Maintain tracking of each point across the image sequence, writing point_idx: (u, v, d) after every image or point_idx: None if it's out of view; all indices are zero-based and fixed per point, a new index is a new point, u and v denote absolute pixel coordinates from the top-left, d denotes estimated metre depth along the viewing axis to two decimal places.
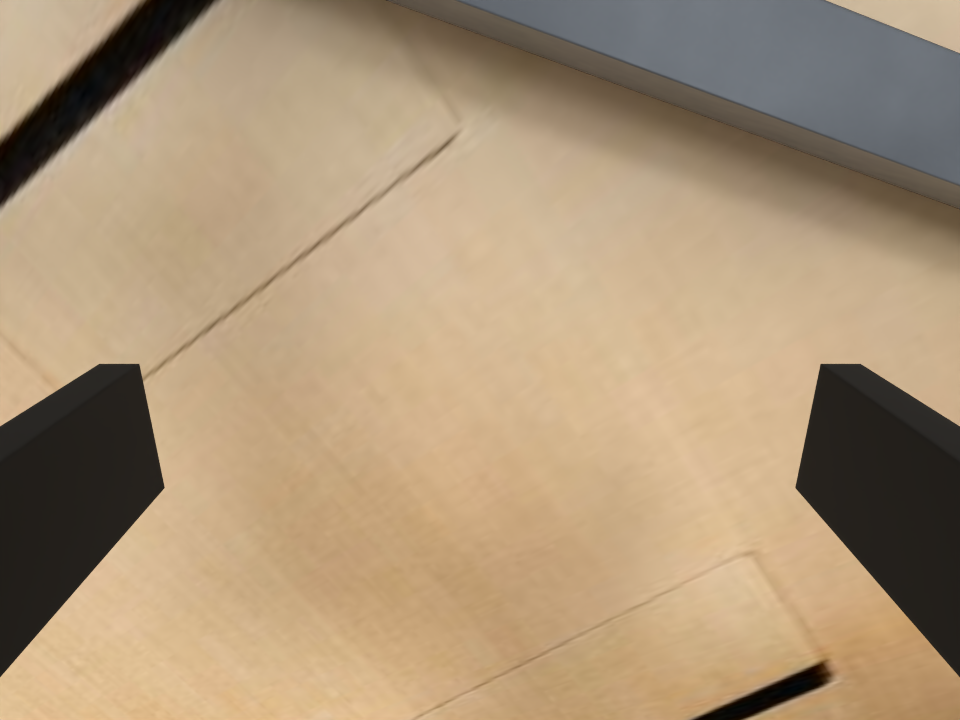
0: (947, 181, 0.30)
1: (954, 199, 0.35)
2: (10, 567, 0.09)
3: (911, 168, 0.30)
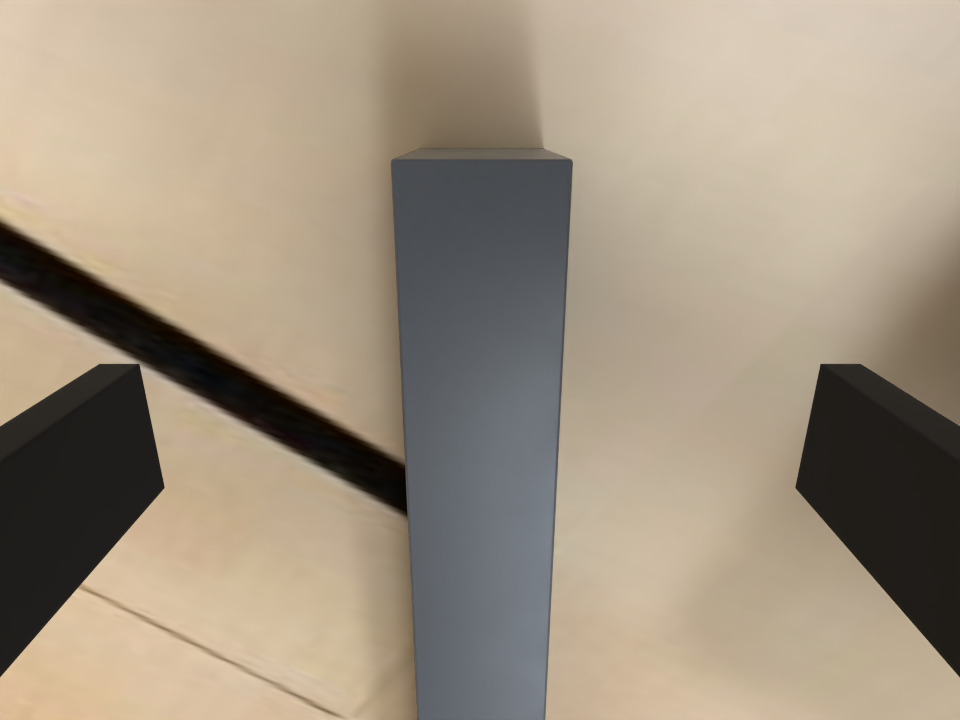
0: None
1: None
2: (11, 568, 0.09)
3: None
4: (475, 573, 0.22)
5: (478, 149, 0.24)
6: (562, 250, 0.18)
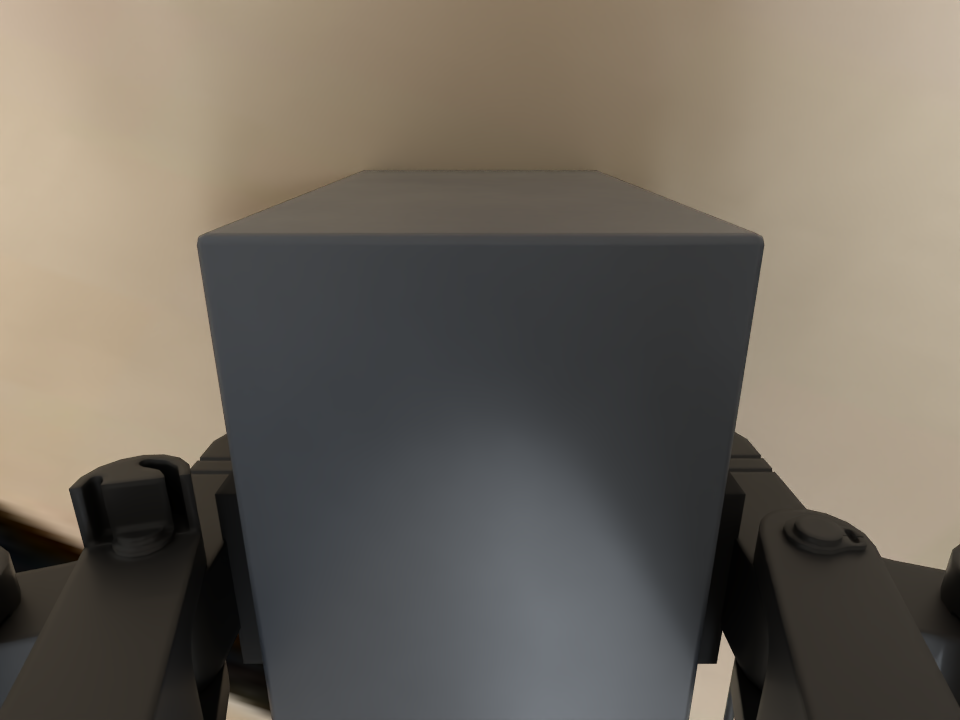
0: None
1: None
2: None
3: None
4: None
5: (474, 174, 0.12)
6: (709, 485, 0.06)
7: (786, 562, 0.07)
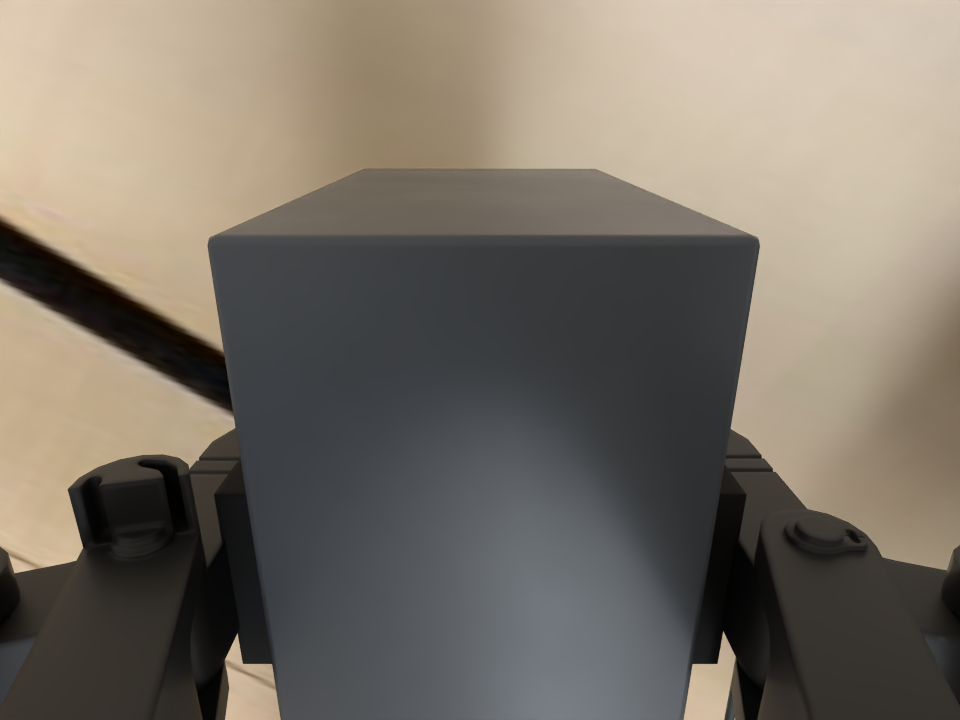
0: None
1: None
2: None
3: None
4: None
5: (474, 172, 0.12)
6: (706, 480, 0.06)
7: (787, 561, 0.07)
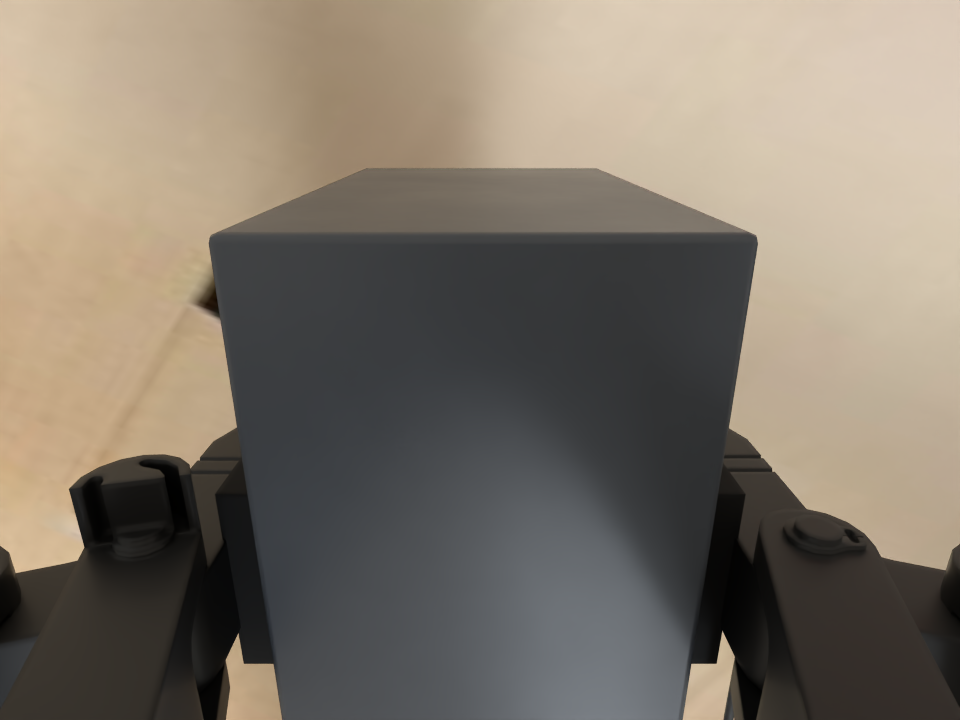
0: None
1: None
2: None
3: None
4: None
5: (475, 172, 0.12)
6: (705, 477, 0.06)
7: (786, 562, 0.07)
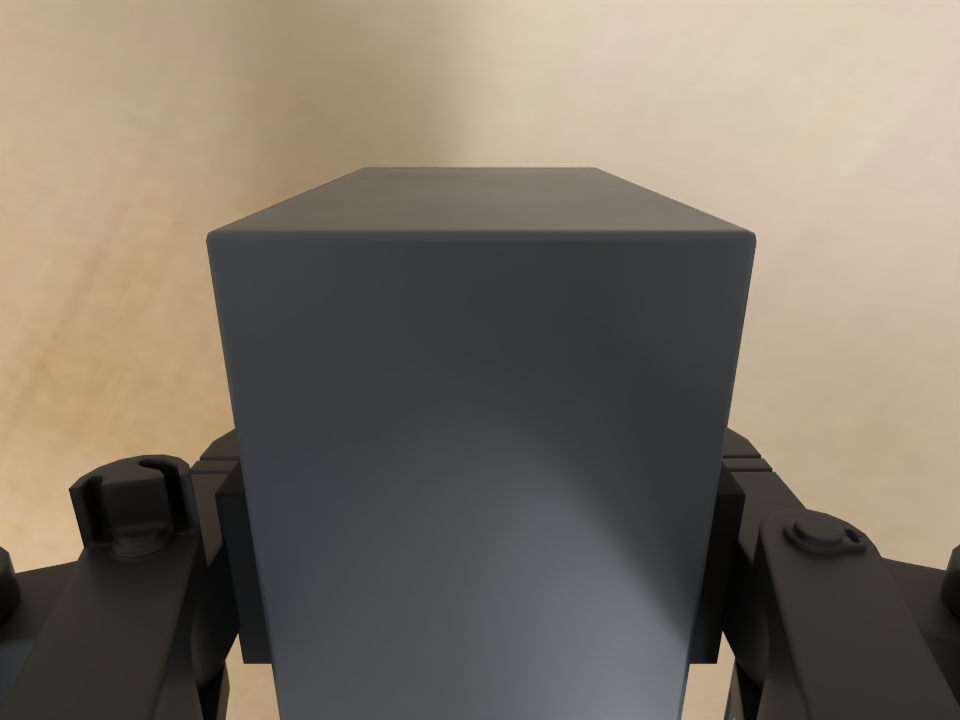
0: None
1: None
2: None
3: None
4: None
5: (474, 171, 0.12)
6: (704, 476, 0.06)
7: (786, 562, 0.07)
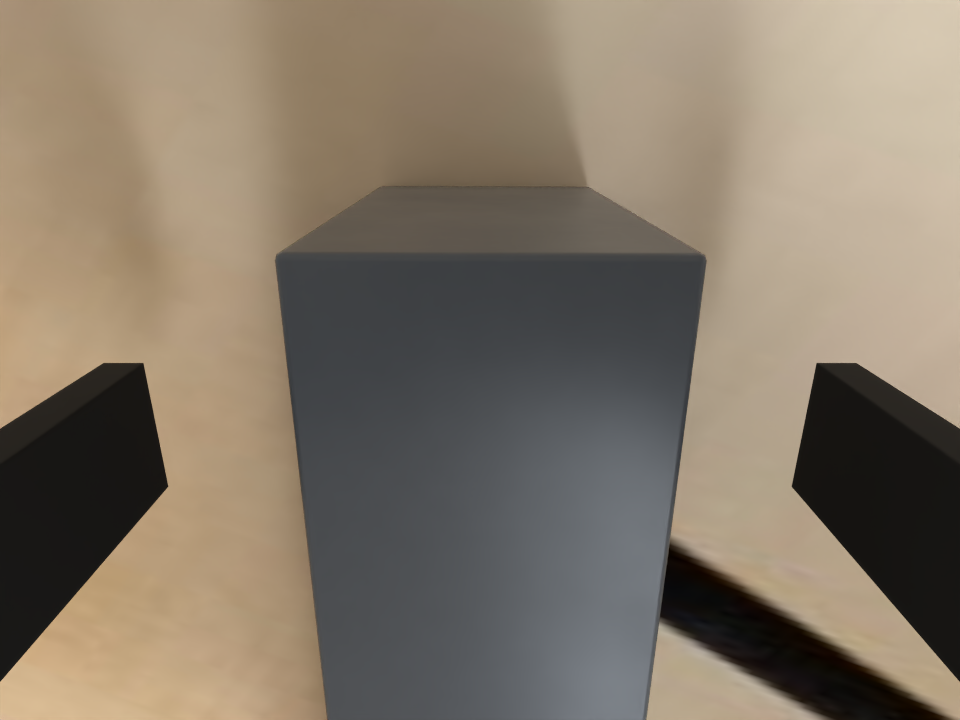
0: None
1: None
2: (17, 566, 0.09)
3: None
4: None
5: (480, 191, 0.14)
6: (669, 448, 0.08)
7: None
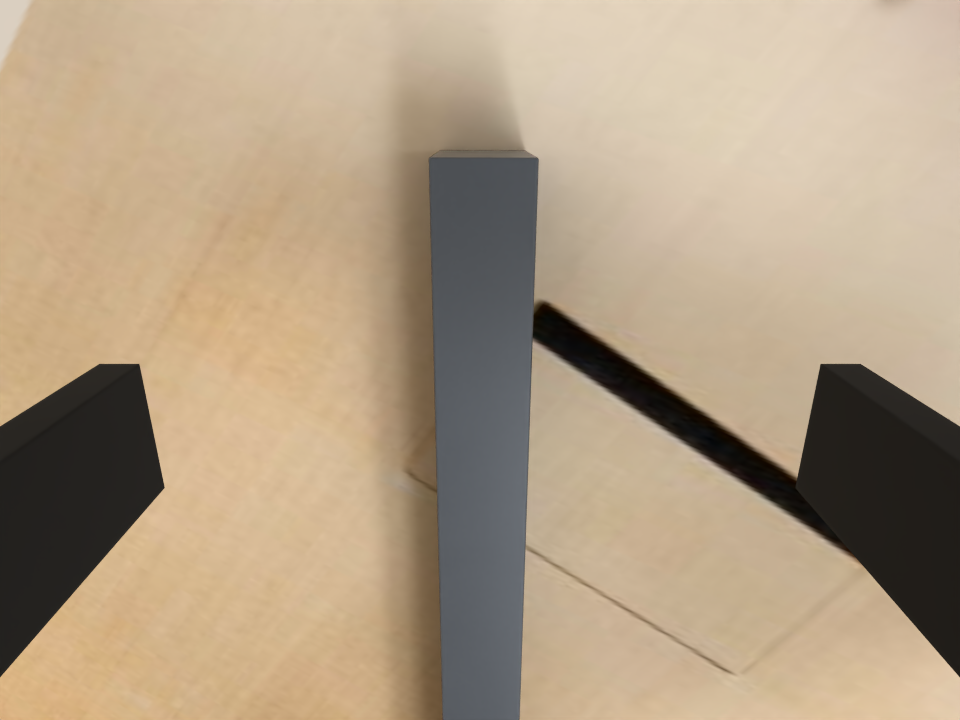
0: None
1: None
2: (10, 567, 0.09)
3: None
4: (478, 430, 0.33)
5: None
6: (532, 213, 0.29)
7: None
